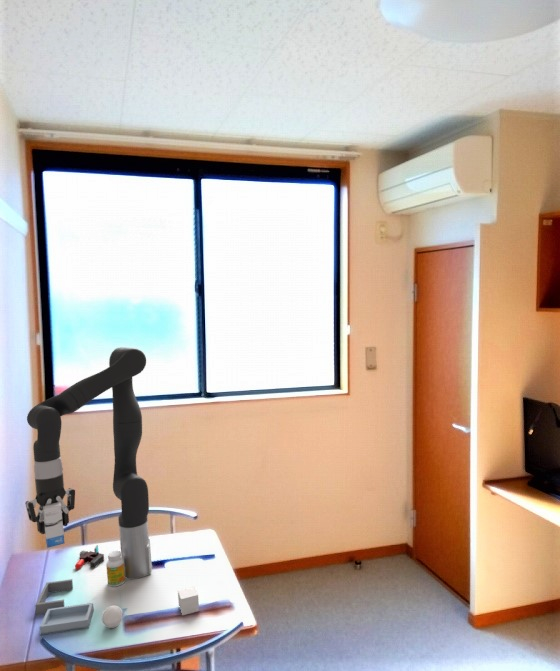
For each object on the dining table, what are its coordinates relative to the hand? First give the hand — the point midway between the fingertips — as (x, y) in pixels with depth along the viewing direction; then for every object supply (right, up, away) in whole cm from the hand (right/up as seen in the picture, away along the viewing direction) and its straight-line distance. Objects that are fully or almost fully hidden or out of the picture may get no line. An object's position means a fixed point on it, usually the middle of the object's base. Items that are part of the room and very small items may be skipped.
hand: (53, 529), depth 157 cm
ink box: (0, -4, 0) cm, 4 cm away
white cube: (+40, -23, -1) cm, 46 cm away
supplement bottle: (+14, -23, +15) cm, 31 cm away
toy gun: (-1, -23, +30) cm, 38 cm away
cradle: (-2, -24, +7) cm, 25 cm away
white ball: (+20, -24, -7) cm, 32 cm away
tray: (+6, -25, -5) cm, 26 cm away
